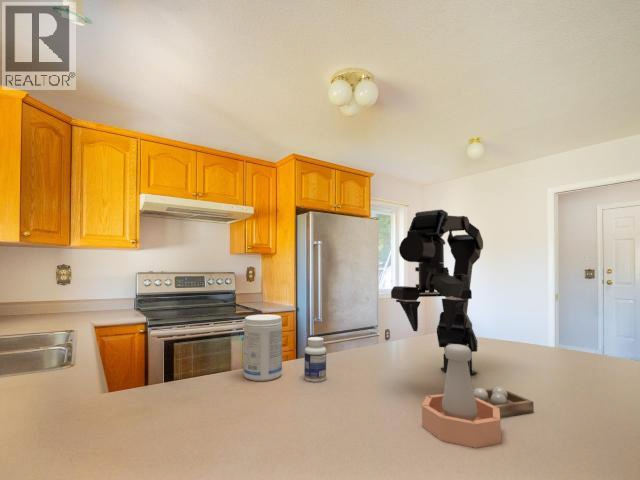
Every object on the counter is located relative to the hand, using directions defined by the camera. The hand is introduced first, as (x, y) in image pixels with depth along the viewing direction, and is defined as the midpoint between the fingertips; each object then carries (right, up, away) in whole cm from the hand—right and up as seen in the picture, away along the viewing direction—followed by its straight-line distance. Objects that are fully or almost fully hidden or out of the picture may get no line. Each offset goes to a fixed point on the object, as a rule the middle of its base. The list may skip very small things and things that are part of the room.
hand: (432, 330), depth 78 cm
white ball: (+10, -10, -10) cm, 18 cm away
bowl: (-2, -11, -21) cm, 24 cm away
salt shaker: (-2, -11, -20) cm, 23 cm away
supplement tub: (-41, -13, +6) cm, 43 cm away
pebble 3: (+8, -10, -13) cm, 19 cm away
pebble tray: (+9, -12, -12) cm, 19 cm away
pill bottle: (-27, -13, +5) cm, 31 cm away
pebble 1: (+6, -10, -11) cm, 16 cm away
